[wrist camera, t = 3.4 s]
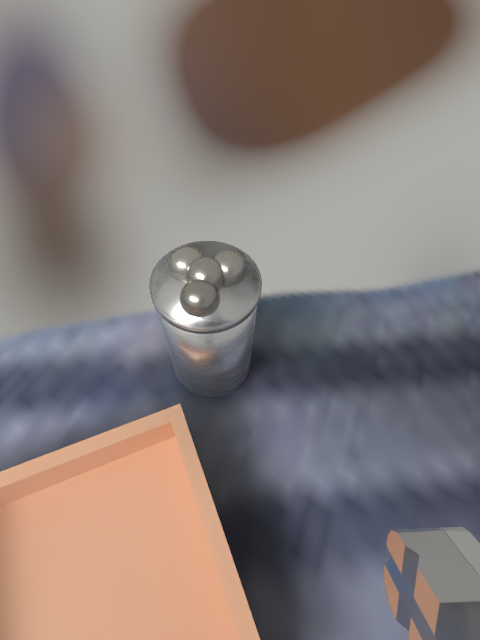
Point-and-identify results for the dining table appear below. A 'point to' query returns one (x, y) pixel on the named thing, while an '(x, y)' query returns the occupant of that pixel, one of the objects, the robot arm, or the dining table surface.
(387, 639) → the dining table surface
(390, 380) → the dining table surface
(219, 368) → the silver metal cylinder
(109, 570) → the terracotta bin
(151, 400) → the dining table surface
